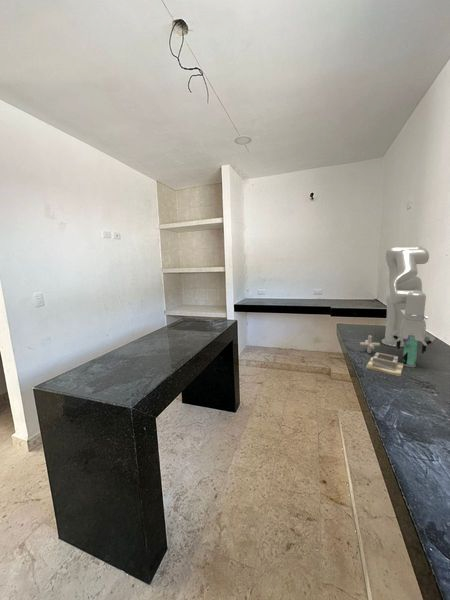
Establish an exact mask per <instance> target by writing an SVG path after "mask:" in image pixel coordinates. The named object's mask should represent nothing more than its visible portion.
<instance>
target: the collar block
mask: <svg viewBox="0 0 450 600" xmlns="http://www.w3.org/2000/svg"><path fill="white" fill-rule="evenodd" d="M404 366H405V365H404V364H403V363H402V362H399V356H398V355H392V354H387V353H382V352H376V353H375V354H374V356H371V358H370V359H369V360H368V362H367V364H366V366H365V369H368V370H371V371H376V372H378V373H383V374H387V375H391V376H396V377H401V376H402V371H403V369H404Z"/></svg>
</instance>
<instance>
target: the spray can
mask: <svg viewBox="0 0 450 600" xmlns="http://www.w3.org/2000/svg"><path fill="white" fill-rule="evenodd" d="M403 341H404V347H403V352H402V362H401V363H403V364H404V365H403V366H405V367H407V368H408V367H410V368H415V367H416V364H417V356H418V346H419V341H416V340H415V336H414V335H413V333H410V334H409V336H408V338H407V339H404V340H403Z"/></svg>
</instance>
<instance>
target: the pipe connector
mask: <svg viewBox="0 0 450 600" xmlns="http://www.w3.org/2000/svg"><path fill="white" fill-rule="evenodd" d="M372 340H373V335H370V334H369V335H368V336H367V339H365V340H364V342H363V341H361V342H359V346H362V347H363V346H365V347H366V346H367V350H366V352H367V353H368V354H371V353H372V350H374V349H375V347H380V346H381V344H380V342H373V341H372Z"/></svg>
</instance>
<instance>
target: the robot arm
mask: <svg viewBox="0 0 450 600" xmlns="http://www.w3.org/2000/svg"><path fill="white" fill-rule="evenodd" d="M429 259H430V253H429V251H428V249H427V248H425V247H423V246H422V245H421V246H419V245H411V246H410V245H409V246H408V245H407V246H406V245H405V246H393V247H390V248H388V249H387V250H386V252H385V261H386V263H387V266H388V272H389V275H388V278H389V279H388V284H389V285H388V286H389V295H387V297H386V299H385V303H386V320H385V321H386V323H385V333H384V338H383V339H381V343H382V344H384V345H386V346H389V347H395V348H397V350H400V349H401V348H402V347H403V348H404V341H405V339H407V338H408V336H409V334H410V333H413V335H414V336H415V340H416V341H418V342H421V343H422V346H421V347H422V348H421V353H422V354H424V353H425V352H426V351H427V346H428V345H430V344H432V343H433V342H434V341H435V339H436V337H435V336H433V335H431V334H429V333H428V332H427V324H426V323H427V322H426V320H428V316H427V315H425V311H426V299H427V295H426V294H425V293H424V292H423V283H422V279H421V278H420V277H419V276H417V275H418V273H419V272H418V267H417V265H425V264H427V263H429ZM403 311H404V313H403ZM426 338H429V339H428V340H427V341H426V340H425V339H426Z"/></svg>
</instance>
